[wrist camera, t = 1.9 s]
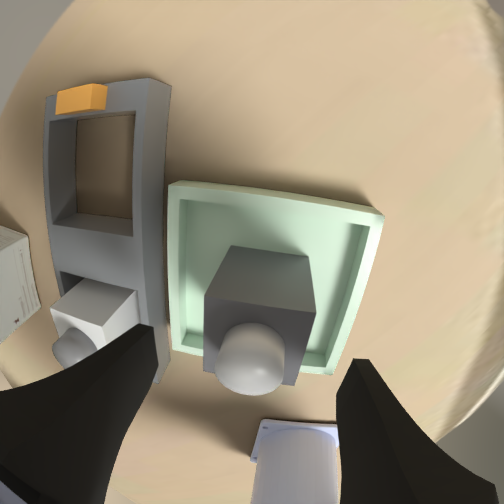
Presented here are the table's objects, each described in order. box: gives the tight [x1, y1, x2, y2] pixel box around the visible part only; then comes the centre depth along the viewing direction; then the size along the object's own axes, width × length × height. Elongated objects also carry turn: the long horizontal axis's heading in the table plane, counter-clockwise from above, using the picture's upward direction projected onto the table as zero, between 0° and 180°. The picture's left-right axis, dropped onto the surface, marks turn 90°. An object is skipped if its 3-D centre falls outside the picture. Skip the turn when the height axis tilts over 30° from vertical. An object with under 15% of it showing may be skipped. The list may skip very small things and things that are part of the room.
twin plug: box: [50, 278, 142, 369], centre depth 15 cm, size 4×4×6 cm
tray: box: [167, 180, 385, 375], centre depth 15 cm, size 10×10×2 cm
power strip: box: [43, 78, 172, 384], centre depth 14 cm, size 18×7×4 cm, turn 174°
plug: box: [203, 245, 317, 395], centre depth 12 cm, size 4×4×6 cm
